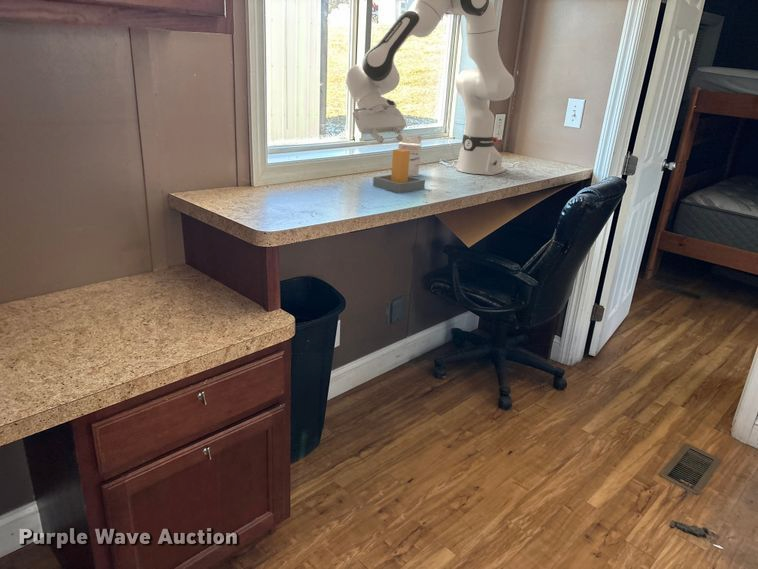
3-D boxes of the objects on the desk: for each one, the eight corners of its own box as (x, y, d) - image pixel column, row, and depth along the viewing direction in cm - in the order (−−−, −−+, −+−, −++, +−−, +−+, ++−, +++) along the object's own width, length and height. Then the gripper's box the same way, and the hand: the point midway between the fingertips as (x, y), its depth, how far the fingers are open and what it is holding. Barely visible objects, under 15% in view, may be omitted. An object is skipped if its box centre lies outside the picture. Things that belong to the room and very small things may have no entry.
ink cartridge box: (395, 174, 213) (398, 135, 207) (396, 172, 218) (399, 133, 212) (418, 176, 212) (421, 136, 207) (418, 174, 217) (422, 135, 211)
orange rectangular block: (398, 183, 196) (401, 148, 191) (407, 185, 193) (409, 150, 189) (390, 184, 193) (393, 149, 189) (399, 187, 191) (401, 151, 186)
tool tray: (398, 181, 202) (399, 173, 201) (424, 188, 194) (425, 180, 192) (372, 185, 194) (373, 176, 192) (398, 193, 185) (399, 184, 184)
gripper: (355, 102, 185) (373, 137, 182) (398, 101, 198) (416, 133, 195) (345, 115, 189) (364, 148, 187) (388, 113, 203) (406, 144, 200)
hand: (391, 141), depth 191 cm, fingers open, 8 cm apart
